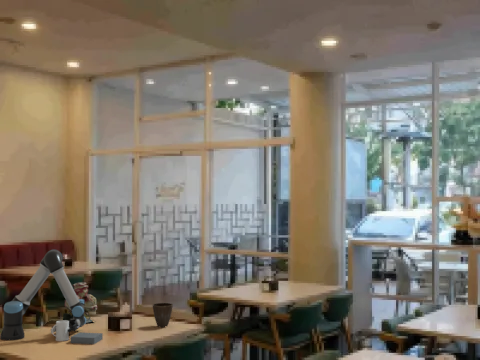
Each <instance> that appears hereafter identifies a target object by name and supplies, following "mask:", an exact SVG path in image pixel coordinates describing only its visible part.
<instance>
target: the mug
mask: <svg viewBox="0 0 480 360" xmlns="http://www.w3.org/2000/svg"><path fill="white" fill-rule="evenodd" d="M55 326H56V332H55V334H54V332H53V328H54V327H55ZM52 327H53V328H52ZM52 327H51V329H52V333H51V334H52V335H53V337H55V341H56V342H67V341H69V340H70V338H69V336H70V334H69V333H70V332H68V333H66V334H64V330H65V329H67V328H69V321H67V320H63V319H62V320H57V321H56V322H55V324H54V325H52Z"/></svg>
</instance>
